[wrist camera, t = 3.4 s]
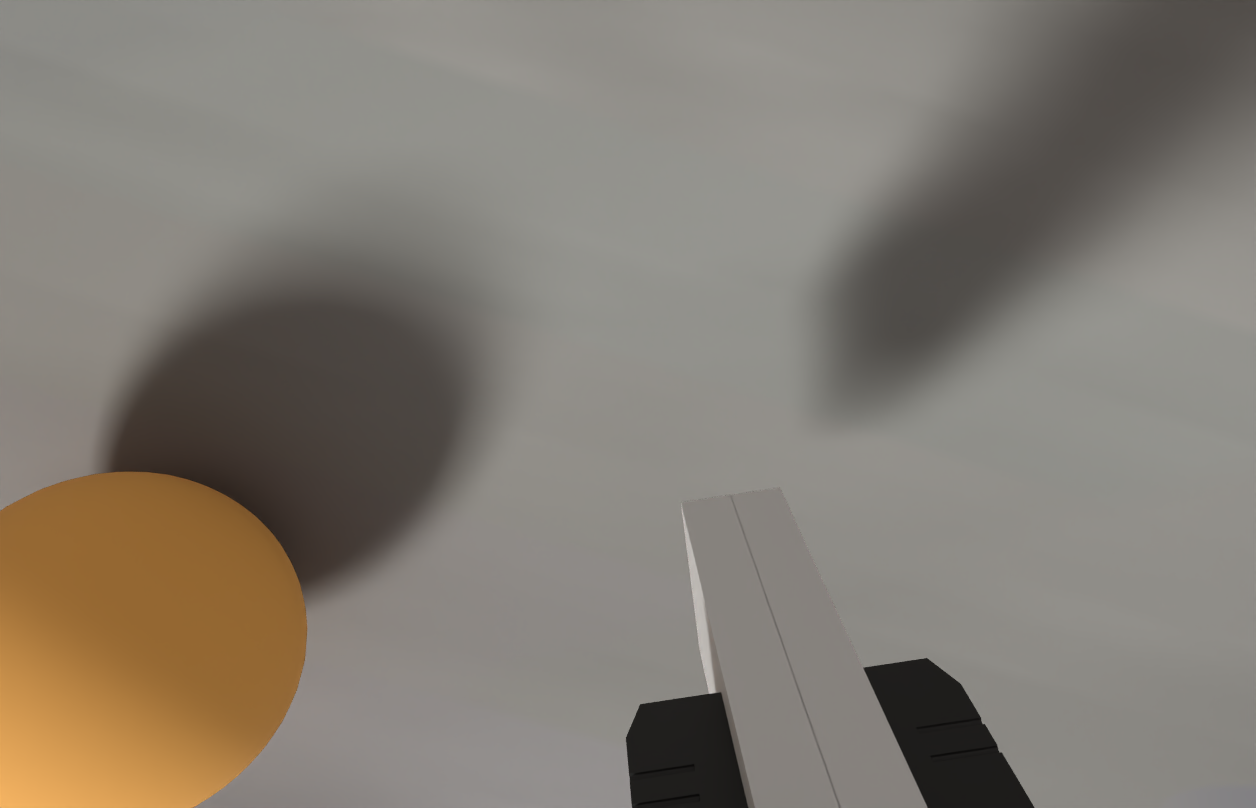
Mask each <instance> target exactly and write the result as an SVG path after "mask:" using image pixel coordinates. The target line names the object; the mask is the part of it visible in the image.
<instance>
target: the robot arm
mask: <svg viewBox="0 0 1256 808" xmlns="http://www.w3.org/2000/svg"><path fill="white" fill-rule="evenodd" d="M681 507H682V514H683V522H684V530H685V538H686V546H687V554H688V562H689V570H690V577H691V585H692V593H693V601H694V609H695V617H696V625H697V633H698V640H699V648H700V653H701V658H702V663H703V667H704V672H705V676H706V681H707V686H708V690H709V694H705V695H699V696H692V697H685V698H679V699H672V700H666V701H659V702H652V703H646V704H640V706H639V709H638V711H637V713H636V716H635V718H634V720H633V723H632V725H631V727H630V730H629V732H628V734H627V737H626V743H627V755H628V766H629V776H630V789H631V801H632V808H1034V806H1033V804H1032V803H1031V801H1030V799H1029V798H1028V796H1027V794H1026V793H1025V791H1024V789H1023V787H1022V786H1021V784H1020V782H1019V781H1018V779H1017V777H1016V776H1015V774H1014V772H1013V771H1012V769H1011V767H1010V766H1009V764H1008V762H1007V761H1006V759H1005V757H1004V756H1003V754H1002V753H999V751H998V747H997V744H996V742H995V741H994V739H993V737H992V736H991V734H990V732H989V730H988V729H987V727H986V725H985V724H982V722H981V717H980V715H979V714H978V712H977V710H976V709H975V707H974V705H973V704H972V702H971V700H970V699H969V697H968V695H967V694H966V692H965V690H964V689H963V687H962V685H961V684H960V683H959V682H957V681H956V680H955V679H954V678H952V677H951V676H950V675H948V674H947V673H946V672H944V671H943V670H942V669H940V668H939V667H938V666H937V665H935V664H934V663H933V662H931V661H930V660H929V659H927V658H924V659H918V660H911V661H905V662H898V663H892V664H885V665H878V666H872V667H865V668H863V667H862V664H861V662H860V660H859V658H858V656H857V654H856V651H855V649H854V647H853V645H852V643H851V641H850V638H849V636H848V634H847V632H846V630H845V627H844V625H843V623H842V621H841V619H840V617H839V614H838V612H837V610H836V608H835V606H834V604H833V601H832V599H831V597H830V595H829V593H828V591H827V588H826V586H825V584H824V582H823V580H822V578H821V575H820V573H819V571H818V569H817V567H816V565H815V562H814V560H813V558H812V556H811V554H810V552H809V549H808V547H807V545H806V543H805V541H804V539H803V536H802V534H801V532H800V530H799V528H798V525H797V523H796V521H795V519H794V517H793V515H792V512H791V510H790V508H789V506H788V504H787V502H786V499H785V497H784V495H783V493H782V491H781V489H780V487H779V488H772V489H765V490H759V491H752V492H745V493H739V494H732V495H725V496H719V497H712V498H705V499H699V500H692V501H685V502H681Z"/></svg>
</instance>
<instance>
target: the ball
mask: <svg viewBox="0 0 1256 808" xmlns="http://www.w3.org/2000/svg"><path fill="white" fill-rule="evenodd" d="M306 639H307V619H306V609H305V603H304V598H303V594H302V590H301V586H300V582H299V580H298V577H297V575H296V573H295V570H294V568H293V566H292V564H291V561H290V559H289V558H288V556H287V554H286V553H285V551H284V549H283V547H282V546H281V544H280V543H279V541H278V540H277V539H276V538H275V536H274V535H273V534H272V532H271V531H270V530H269V529H268V528H267V527H266V526H265V525H264V524H263V523H262V522H261V521H260V520H259V519H258V518H257V517H256V516H255V515H253V514H252V513H251V512H250V511H248V510H247V509H246V508H245V507H243V506H242V505H240V504H239V503H237V502H236V501H234V500H232V499H231V498H229V497H228V496H226V495H224V494H222V493H220V492H218V491H216V490H214V489H212V488H210V487H208V486H205V485H202V484H199V483H197V482H194V481H191V480H188V479H184V478H180V477H176V476H172V475H167V474H159V473H151V472H111V473H101V474H93V475H89V476H84V477H80V478H75V479H71V480H67V481H64V482H60V483H57V484H55V485H52V486H49V487H46V488H43V489H41V490H39V491H37V492H34V493H32V494H30V495H28V496H26V497H24V498H22V499H20V500H18V501H17V502H15V503H13V504H11V505H9V506H7V507H5V508H4V509H3V510H1V511H0V808H193V807H195V806H196V805H198V804H200V803H201V802H203V801H204V800H206V799H208V798H209V797H211V796H212V795H214V794H215V793H216V792H218V791H219V790H221V789H222V788H224V787H225V786H226V785H227V784H229V783H230V782H231V781H232V780H233V779H235V778H236V777H237V776H238V775H239V774H240V773H241V772H242V771H243V770H244V769H245V768H246V767H247V766H248V765H249V764H250V763H251V762H252V761H253V760H254V759H255V758H256V757H257V756H258V754H259V753H260V752H261V751H262V750H263V749H264V747H265V746H266V745H267V743H268V742H269V740H270V739H271V738H272V736H273V735H274V733H275V732H276V730H277V729H278V727H279V726H280V724H281V722H282V721H283V719H284V717H285V715H286V713H287V711H288V709H289V707H290V704H291V702H292V700H293V698H294V695H295V693H296V691H297V687H298V684H299V680H300V677H301V673H302V669H303V665H304V661H305V652H306Z"/></svg>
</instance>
